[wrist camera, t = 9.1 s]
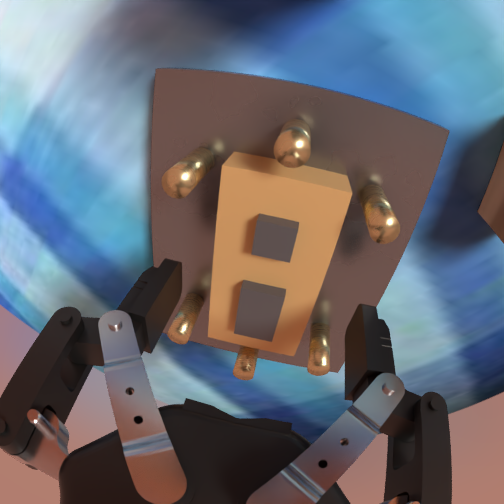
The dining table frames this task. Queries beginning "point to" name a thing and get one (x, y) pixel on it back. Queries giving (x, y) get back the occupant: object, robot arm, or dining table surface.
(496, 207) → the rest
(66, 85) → the dining table surface
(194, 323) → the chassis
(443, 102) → the dining table surface
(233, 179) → the board
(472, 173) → the dining table surface
